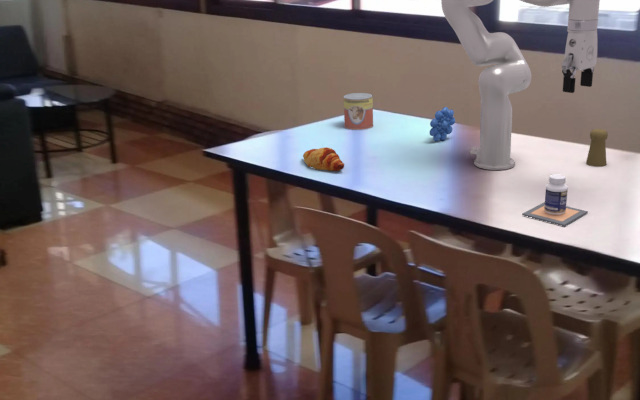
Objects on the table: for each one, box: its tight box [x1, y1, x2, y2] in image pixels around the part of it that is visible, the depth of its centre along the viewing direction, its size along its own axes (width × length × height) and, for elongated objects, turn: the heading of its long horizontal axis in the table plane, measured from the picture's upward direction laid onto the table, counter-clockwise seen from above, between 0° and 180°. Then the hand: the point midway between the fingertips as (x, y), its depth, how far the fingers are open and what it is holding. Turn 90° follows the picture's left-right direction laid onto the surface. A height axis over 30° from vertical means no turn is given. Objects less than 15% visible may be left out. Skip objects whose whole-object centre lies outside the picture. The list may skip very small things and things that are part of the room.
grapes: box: [429, 106, 456, 142], centre depth 262 cm, size 12×7×12 cm, turn 124°
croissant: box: [302, 146, 345, 172], centre depth 241 cm, size 21×10×8 cm, turn 37°
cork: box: [585, 128, 609, 168], centre depth 230 cm, size 6×6×11 cm
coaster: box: [521, 201, 589, 227], centre depth 193 cm, size 12×12×1 cm
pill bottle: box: [544, 173, 568, 215], centre depth 191 cm, size 5×5×10 cm
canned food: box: [342, 92, 374, 131], centre depth 286 cm, size 11×11×12 cm
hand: (577, 89), depth 204 cm, fingers open, 9 cm apart
